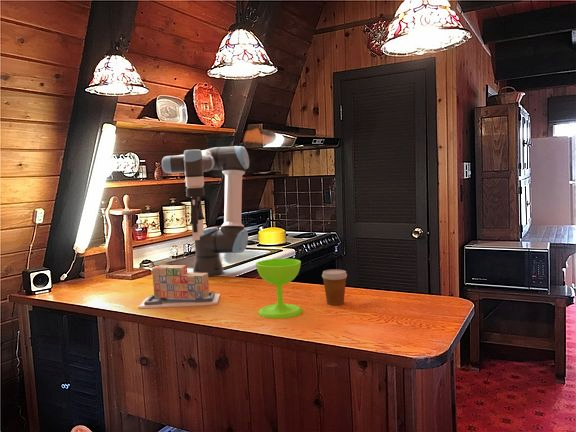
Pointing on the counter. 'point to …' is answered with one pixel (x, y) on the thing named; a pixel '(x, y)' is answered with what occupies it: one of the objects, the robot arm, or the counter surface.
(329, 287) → the disposable coffee cup
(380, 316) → the counter surface
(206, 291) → the stack of blocks
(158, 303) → the blueprint board
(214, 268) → the robot arm
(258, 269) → the wineglass
